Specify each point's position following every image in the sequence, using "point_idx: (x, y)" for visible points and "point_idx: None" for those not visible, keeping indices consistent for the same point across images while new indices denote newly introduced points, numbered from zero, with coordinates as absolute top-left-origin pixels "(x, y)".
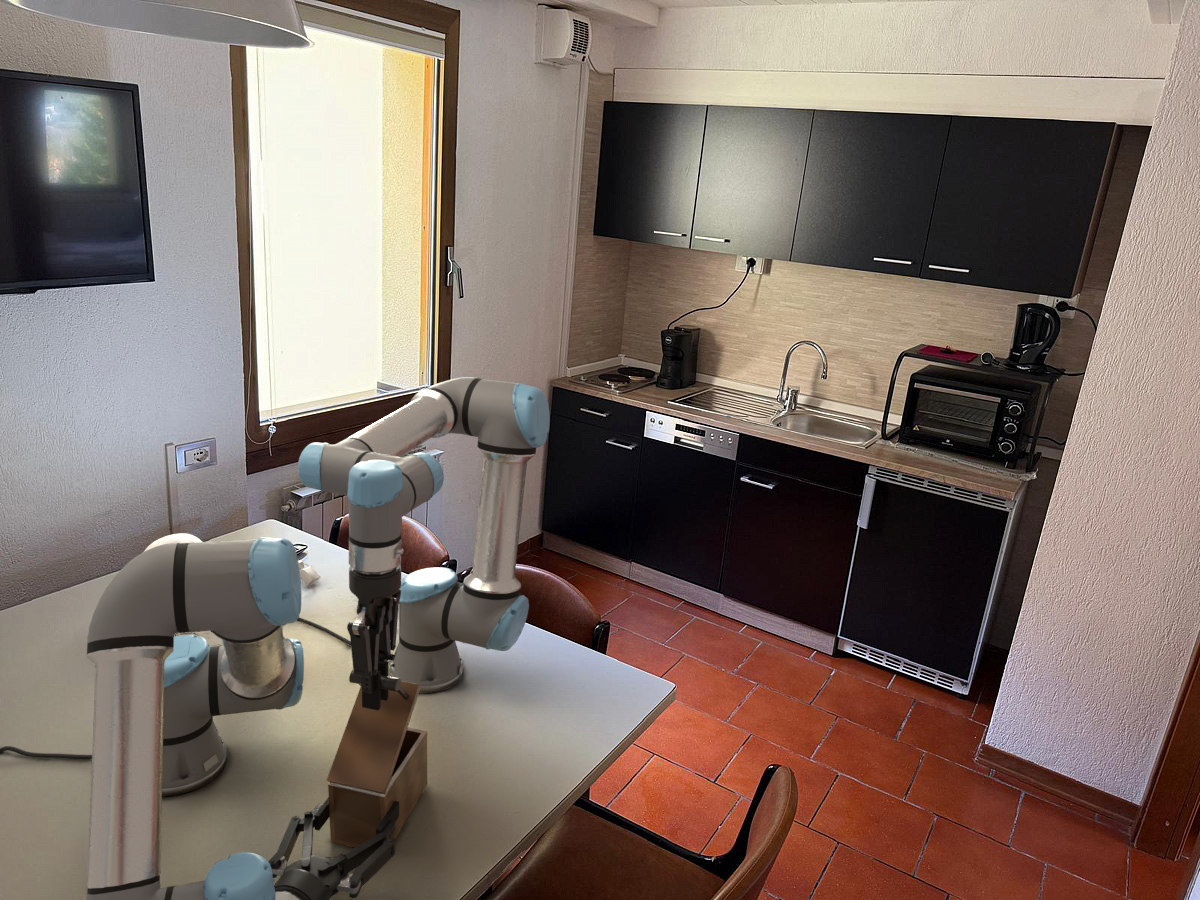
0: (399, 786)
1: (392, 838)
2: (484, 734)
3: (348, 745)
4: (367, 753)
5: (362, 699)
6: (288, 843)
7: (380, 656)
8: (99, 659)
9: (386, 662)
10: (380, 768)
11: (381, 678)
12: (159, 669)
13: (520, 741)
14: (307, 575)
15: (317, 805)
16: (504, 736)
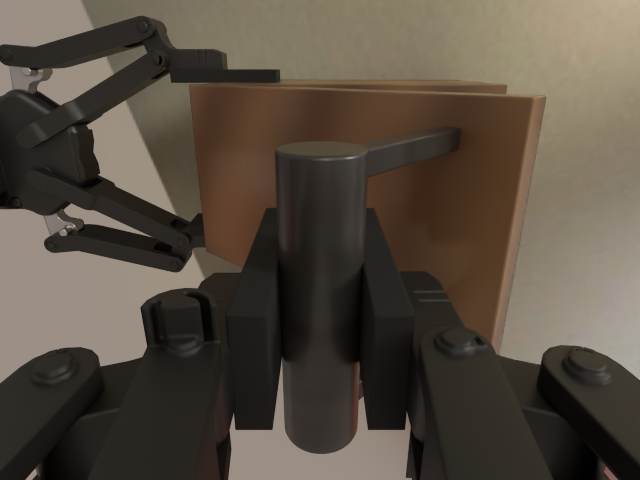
0: None
1: (181, 264)
2: (628, 242)
3: (262, 122)
4: (258, 194)
5: (262, 223)
6: (69, 58)
7: (415, 404)
8: None
9: (392, 422)
10: (239, 239)
11: (301, 371)
12: None
13: (609, 311)
14: None
15: (215, 51)
16: (623, 280)
